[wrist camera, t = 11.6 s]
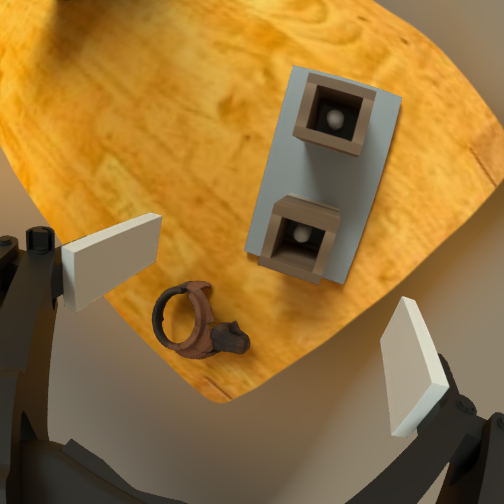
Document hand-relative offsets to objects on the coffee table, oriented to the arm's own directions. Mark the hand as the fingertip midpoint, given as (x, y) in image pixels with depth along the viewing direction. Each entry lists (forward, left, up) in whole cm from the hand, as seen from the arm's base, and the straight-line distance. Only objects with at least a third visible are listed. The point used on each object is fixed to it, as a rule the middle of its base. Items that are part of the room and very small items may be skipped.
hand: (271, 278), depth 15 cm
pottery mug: (+15, -7, -18) cm, 25 cm away
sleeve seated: (-10, 0, -16) cm, 19 cm away
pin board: (-5, 0, -18) cm, 18 cm away
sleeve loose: (0, 0, -16) cm, 16 cm away
